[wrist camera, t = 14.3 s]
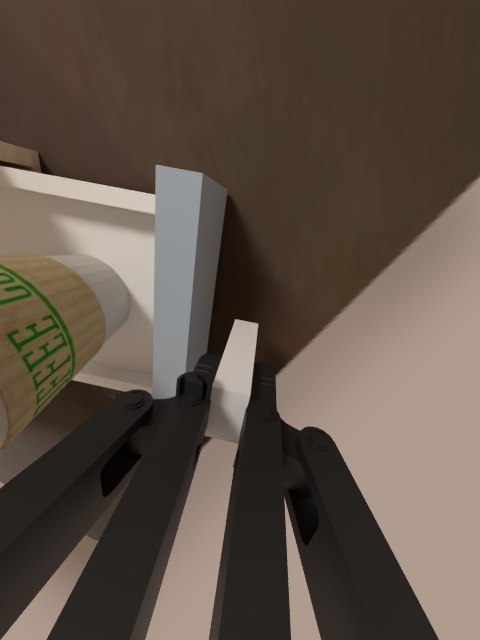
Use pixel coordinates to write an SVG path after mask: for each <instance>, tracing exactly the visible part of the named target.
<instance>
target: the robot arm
mask: <svg viewBox="0 0 480 640" xmlns="http://www.w3.org/2000/svg"><path fill="white" fill-rule="evenodd" d="M257 331H258V324H257V323H252V322H247V321H242V320H237V319H235V322H234V325H233V327H232V330H231V333H230V336H229V339H228V342H227V345H226V348H225V351H224V353H223V356H219V355H214V354H209V353H205V354H204V355H202V356H201V357H200V358H199V360H198V362H197V364H196V366H195V368H194V370H193V372H187V373H184V374H182V375H180V376H179V377H178V378H177V384H176V396H174V397H171V398H166V399H153V397H152V395H151V394H150V393H149V392H147V391H145V390H141V389H136V390H130V391H126V392H124V393H123V394H121V395H119V396H118V397H117V398H115V399H114V400H113V401H112V402H110V403H109V404H108V405H107V406H105V407H104V408H103V409H101V410H100V411H99V412H98V413H96V414H95V415H94V416H92V417H91V418H90V419H89V420H87V421H86V422H85V423H83V424H82V425H81V426H80V427H78V428H77V429H76V430H74V431H73V432H72V433H71V434H69V435H68V436H67V437H65V438H64V439H63V440H62V441H60V442H59V443H58V444H57V445H55V446H54V447H53V448H51V449H50V450H49V451H48V452H46V453H45V454H44V455H42V456H41V457H40V458H39V459H37V460H36V461H35V462H33V463H32V464H31V465H30V466H28V467H27V468H26V469H24V470H23V471H22V472H21V473H19V474H18V475H17V476H16V477H14V478H13V479H12V480H10V481H9V482H8V483H7V484H5V485H4V486H3V487H1V488H0V639H1V638H2V637H3V636H4V635H5V633H6V632H7V631H8V630H9V628H10V627H11V626H12V625H13V624H14V622H15V621H16V620H17V619H18V617H19V616H20V615H21V614H22V612H23V611H24V610H25V609H26V607H27V606H28V605H29V604H30V602H31V601H32V600H33V599H34V598H35V596H36V595H37V594H38V593H39V591H40V590H41V589H42V588H43V586H44V585H45V584H46V583H47V581H48V580H49V579H50V578H51V576H52V575H53V574H54V573H55V571H56V570H57V569H58V568H59V566H60V565H61V564H62V563H63V561H64V560H65V559H66V558H67V557H68V555H69V554H70V553H71V552H72V550H73V549H74V548H75V547H76V545H77V544H78V543H79V542H80V541H81V539H82V538H83V537H84V536H85V534H86V533H87V532H88V531H89V529H90V528H91V527H92V526H93V524H94V523H95V522H96V521H97V520H98V518H99V517H100V516H101V515H102V513H103V512H104V511H105V510H106V508H107V507H108V506H109V505H110V503H111V502H112V501H113V500H114V498H115V497H116V496H117V495H118V494H119V492H120V491H121V490H122V489H123V487H124V486H125V485H126V484H127V482H128V481H129V480H130V479H131V477H132V476H133V477H132V479H131V481H130V483H129V485H128V487H127V489H126V490H125V492H124V494H123V496H122V498H121V500H120V502H119V504H118V506H117V507H116V509H115V511H114V513H113V515H112V517H111V519H110V521H109V523H108V525H107V526H106V528H105V530H104V532H103V534H102V536H101V538H100V540H99V542H98V544H97V545H96V547H95V549H94V551H93V553H92V555H91V557H90V559H89V560H88V562H87V564H86V566H85V568H84V570H83V572H82V574H81V576H80V578H79V579H78V581H77V583H76V585H75V587H74V589H73V591H72V593H71V594H70V596H69V598H68V600H67V602H66V604H65V606H64V608H63V610H62V611H61V613H60V615H59V617H58V619H57V621H56V623H55V625H54V627H53V628H52V630H51V632H50V634H49V636H48V638H47V640H145V638H146V634H147V631H148V628H149V624H150V621H151V617H152V614H153V611H154V607H155V604H156V600H157V597H158V594H159V591H160V587H161V584H162V580H163V577H164V573H165V570H166V567H167V563H168V560H169V557H170V553H171V550H172V547H173V543H174V539H175V536H176V533H177V530H178V526H179V523H180V519H181V516H182V513H183V509H184V506H185V502H186V499H187V495H188V492H189V489H190V485H191V482H192V479H193V475H194V472H195V469H196V465H197V462H198V458H199V455H200V452H201V448H202V442H203V438H204V434H205V436H208V437H212V438H217V439H222V440H226V441H230V442H234V443H239V444H238V450H237V454H236V458H235V462H234V466H233V467H234V473H233V480H232V486H231V493H230V500H229V506H228V513H227V520H226V527H225V533H224V541H223V547H222V554H221V561H220V567H219V574H218V581H217V588H216V595H215V601H214V608H213V615H212V622H211V629H210V635H209V640H291V630H290V611H289V610H290V609H289V588H288V569H287V568H288V567H287V549H286V547H287V546H286V525H285V505H284V497H285V500H286V504H287V508H288V512H289V516H290V520H291V524H292V527H293V532H294V536H295V539H296V543H297V547H298V551H299V555H300V559H301V563H302V567H303V571H304V574H305V578H306V582H307V586H308V590H309V594H310V598H311V602H312V606H313V609H314V613H315V617H316V621H317V625H318V629H319V633H320V637H321V640H439V639H438V637H437V635H436V633H435V631H434V630H433V628H432V626H431V624H430V622H429V620H428V618H427V616H426V614H425V612H424V611H423V609H422V607H421V605H420V603H419V601H418V599H417V597H416V596H415V594H414V592H413V590H412V588H411V586H410V584H409V582H408V580H407V579H406V577H405V575H404V573H403V571H402V569H401V567H400V565H399V563H398V561H397V560H396V558H395V556H394V554H393V552H392V550H391V548H390V546H389V544H388V542H387V541H386V539H385V537H384V535H383V533H382V531H381V529H380V527H379V526H378V524H377V522H376V520H375V518H374V516H373V514H372V512H371V510H370V509H369V507H368V505H367V503H366V501H365V499H364V497H363V495H362V493H361V491H360V490H359V488H358V486H357V484H356V482H355V480H354V478H353V476H352V475H351V473H350V471H349V469H348V467H347V465H346V463H345V461H344V459H343V457H342V456H341V454H340V452H339V450H338V448H337V446H336V444H335V442H334V441H333V440H332V438H331V437H330V436H329V435H328V434H327V433H326V432H324V431H323V430H321V429H319V428H316V427H305V428H304V429H302V430H301V431H299V430H297V429H295V428H293V427H291V426H290V425H288V424H286V423H285V422H284V421H283V420H282V419H281V418H280V415H279V413H278V411H277V408H276V381H275V380H276V378H275V371H274V370H273V368H272V366H269V365H264V364H260V363H255V362H254V358H255V349H256V340H257Z"/></svg>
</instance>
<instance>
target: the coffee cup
mask: <svg viewBox="0 0 480 640" xmlns="http://www.w3.org/2000/svg"><path fill="white" fill-rule="evenodd" d="M129 312H130V298H129V294H128V291H127V288H126V286H125V284H124V282H123V281H122V279H121V278H120V276H119V275H118V274H117V273H116V272H115V271H114V270H113V269H112V268H111V267H110V266H109V265H107V264H106V263H105V262H103V261H101V260H99V259H97V258H95V257H92V256H89V255H82V254H76V255H51V256H43V255H37V254H30V253H28V254H0V452H1V451H3V450H4V449H5V448H6V447H7V446H8V445H9V444H10V443H11V442H12V441H13V440H14V439H15V438H16V437H17V436H18V435H19V434H20V433H21V432H22V430H23V429H24V428H25V427H26V426H27V425H28V424H29V423H30V422H31V421H32V420H33V419H34V418H35V417H36V416H37V415H38V414H39V413H40V412H41V411H42V410H43V409H44V408H45V407H46V406H47V405H48V404H49V403H50V402H51V400H52V399H53V398H54V397H55V396H56V395H57V394H58V393H59V392H60V391H61V390H62V389H63V388H64V387H65V386H66V385H67V384H68V383H69V382H70V381H71V380H72V379H73V378H74V377H75V376H76V375H77V374H78V373H79V372H80V370H81V369H82V368H83V367H84V366H85V365H86V364H87V363H88V362H89V361H90V360H91V359H92V358H93V357H94V356H95V355H96V354H97V353H98V352H99V350H100V349H101V347H102V346H103V344H104V343H105V342H106V341H107V340H108V339H109V338H110V337H111V336H112V335H113V334H114V333H115V332H116V331H117V330H118V329H119V328H120V327H121V326H122V325H123V324H124V323H125V321H126V320H127V318H128V315H129Z"/></svg>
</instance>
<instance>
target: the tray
mask: <svg viewBox="0 0 480 640" xmlns="http://www.w3.org/2000/svg"><path fill="white" fill-rule="evenodd" d="M226 198H227V189H226V188H224V187H223V186H221V185H220V184H218V183H217V182H215V181H214V180H212V179H211V178H209V177H208V176H206V175H205V174H203V173H198V172H193V171H187V170H182V169H176V168H171V167H165V166H160V165H156V190H155V195H154V194H148V193H143V192H138V191H132V190H127V189H122V188H116V187H111V186H106V185H100V184H95V183H90V182H84V181H79V180H73V179H68V178H63V177H57V176H52V175H47V174H41V173H36V172H31V171H25V170H20V169H15V168H9V167H4V166H0V254H28V253H30V254H37V255H43V256H51V255H76V254H82V255H89V256H92V257H95V258H97V259H99V260H101V261H103V262H105V263H106V264H107V265H109V266H110V267H111V268H112V269H113V270H114V271H115V272H116V273H117V274H118V275H119V276H120V278H121V279H122V281H123V282H124V284H125V286H126V288H127V291H128V294H129V298H130V312H129V315H128V318H127V320H126V321H125V323H124V324H123V325H122V326H121V327H120V328H119V329H118V330H117V331H116V332H115V333H114V334H113V335H112V336H111V337H110V338H109V339H108V340H107V341H106V342H105V343H104V344H103V346H102V347H101V349H100V350H99V352H98V353H97V354H96V355H95V356H94V357H93V358H92V359H91V360H90V361H89V362H88V363H87V364H86V365H85V366H84V367H83V368H82V369H81V370H80V372H79V373H78V374H77V375H76V376H75V377H74V378H73V379H72V380H75V381H79V382H84V383H88V384H93V385H97V386H102V387H106V388H111V389H115V390H120V391H124V392H126V391H130V390H136V389H141V390H145V391H147V392H149V393H150V394H151V395H152V397H153V399H166V398H171V397H174V396H176V384H177V378H178V377H179V376H180V375H182V374H184V373H187V372H193V370H194V368H195V366H196V364H197V362H198V360H199V358H200V357H201V356H202V355H204V354H205V353H207V345H208V338H209V330H210V322H211V314H212V307H213V299H214V291H215V283H216V276H217V268H218V260H219V252H220V245H221V237H222V229H223V221H224V214H225V206H226Z"/></svg>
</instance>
